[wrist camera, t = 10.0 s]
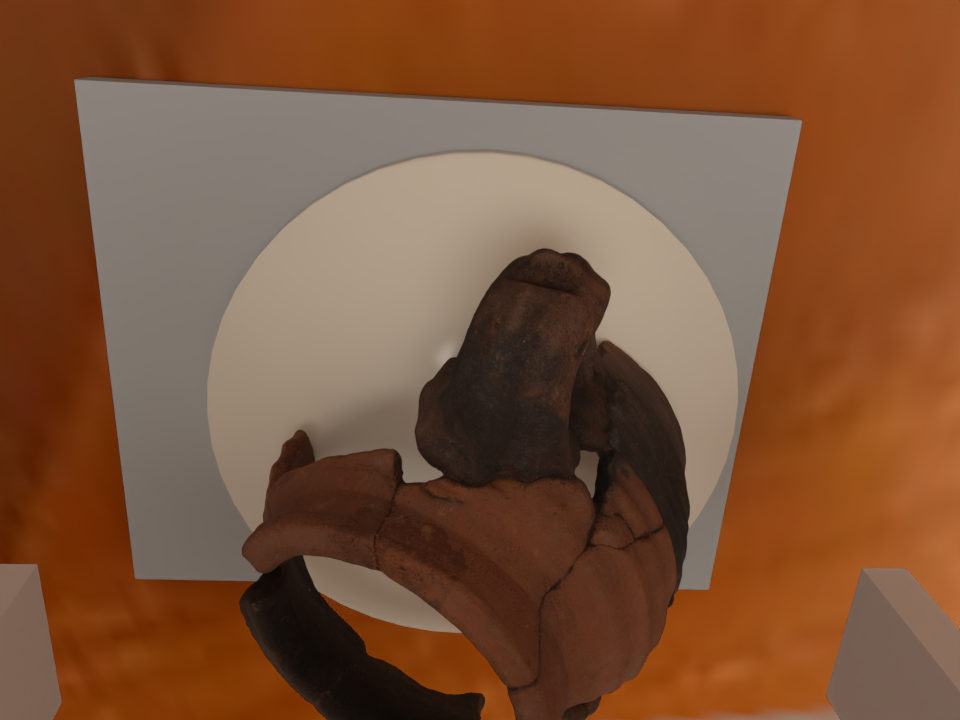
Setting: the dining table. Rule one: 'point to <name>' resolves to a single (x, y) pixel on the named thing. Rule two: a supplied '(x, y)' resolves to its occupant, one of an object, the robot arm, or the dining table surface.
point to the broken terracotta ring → (492, 517)
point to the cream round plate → (444, 326)
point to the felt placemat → (310, 174)
